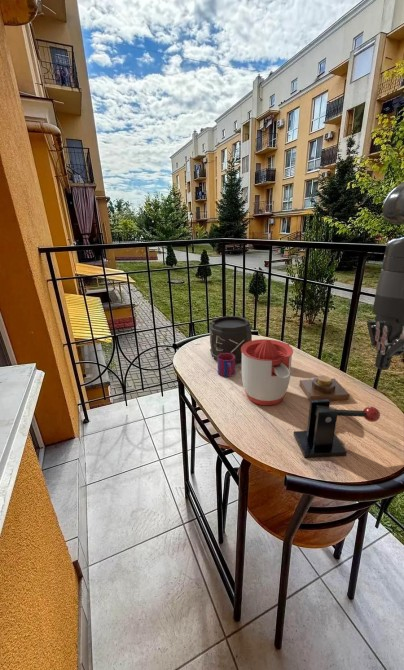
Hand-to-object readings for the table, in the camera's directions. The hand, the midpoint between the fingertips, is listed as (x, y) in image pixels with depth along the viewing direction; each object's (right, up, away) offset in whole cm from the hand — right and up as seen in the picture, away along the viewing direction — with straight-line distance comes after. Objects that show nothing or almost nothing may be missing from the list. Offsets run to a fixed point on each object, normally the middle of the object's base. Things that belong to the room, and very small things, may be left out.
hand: (381, 368), depth 63 cm
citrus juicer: (-20, -13, +28) cm, 37 cm away
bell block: (-1, -12, +29) cm, 31 cm away
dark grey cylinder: (-28, -2, +58) cm, 64 cm away
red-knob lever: (-5, -13, +5) cm, 15 cm away
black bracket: (-11, -20, +8) cm, 24 cm away
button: (-1, -8, +28) cm, 29 cm away
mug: (-31, -8, +43) cm, 54 cm away
